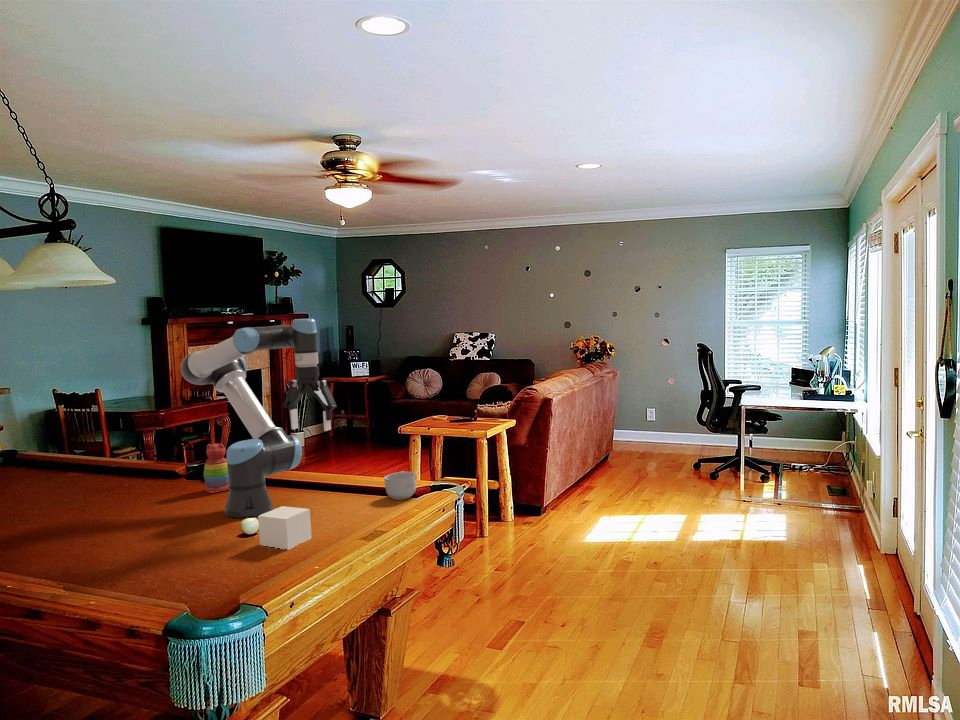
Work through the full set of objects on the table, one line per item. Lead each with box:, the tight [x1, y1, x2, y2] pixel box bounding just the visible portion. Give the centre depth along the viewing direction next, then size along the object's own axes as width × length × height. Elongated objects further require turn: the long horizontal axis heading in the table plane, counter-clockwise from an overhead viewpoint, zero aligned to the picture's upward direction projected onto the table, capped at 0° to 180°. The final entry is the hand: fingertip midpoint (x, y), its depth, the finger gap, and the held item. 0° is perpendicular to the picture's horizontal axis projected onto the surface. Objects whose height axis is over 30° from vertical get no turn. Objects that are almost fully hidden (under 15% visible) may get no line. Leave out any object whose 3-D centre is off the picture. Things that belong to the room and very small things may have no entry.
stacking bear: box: [203, 443, 229, 491], centre depth 277 cm, size 11×10×18 cm
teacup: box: [383, 470, 417, 501], centre depth 257 cm, size 14×11×8 cm
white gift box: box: [257, 505, 312, 551], centre depth 212 cm, size 10×10×9 cm
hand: (311, 429), depth 244 cm, fingers open, 13 cm apart
